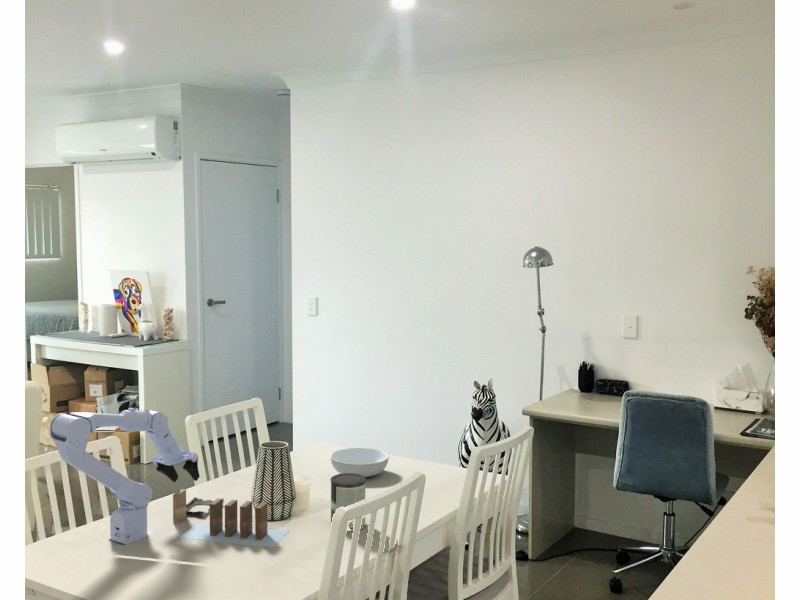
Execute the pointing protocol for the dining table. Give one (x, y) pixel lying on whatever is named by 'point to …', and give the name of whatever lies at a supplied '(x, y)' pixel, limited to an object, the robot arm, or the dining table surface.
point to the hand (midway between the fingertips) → (186, 479)
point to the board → (233, 536)
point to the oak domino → (179, 506)
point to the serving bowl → (359, 461)
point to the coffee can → (347, 492)
